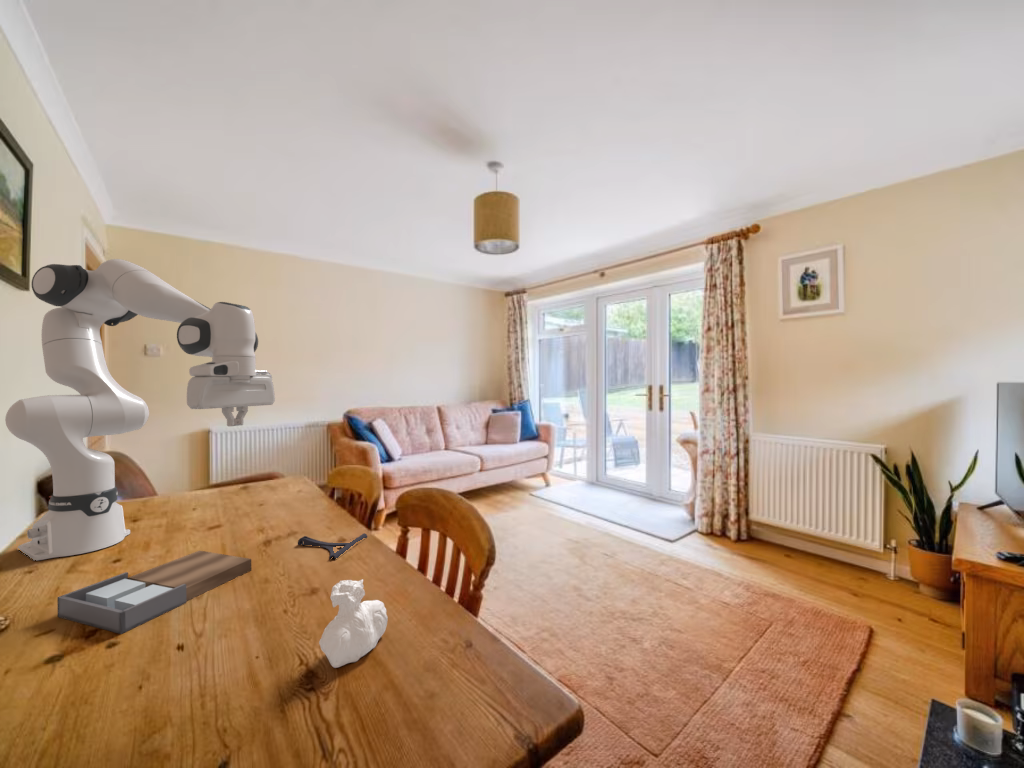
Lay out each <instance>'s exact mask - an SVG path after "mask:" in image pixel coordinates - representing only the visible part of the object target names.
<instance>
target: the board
mask: <svg viewBox="0 0 1024 768" xmlns="http://www.w3.org/2000/svg"><path fill="white" fill-rule="evenodd" d="M251 571H252V558H247V557H241V556H234V555H228V554H222V553H217V552H211V551H203V550H197V551H194V552H191V553H190V554H186V555H184V556H182V557H179V558H176V559H173V560H171V561H168V562H165V563H163V564H160V565H158V566H155V567H152V568H150V569H146V570H144V571H141V572H139V573H136V574H134V575H131V576H128V579H129V580H134V581H139V582H143V583H145V588H146V587H148V586H150V585H158V586H163V587H168V588H176V587H178V586H180V585H182V584H186V602H188V601H190V600H192V599H194V598H197V597H199V596H200V595H203V594H204V593H207V592H209V591H211V590H213V589H215V588H217V587H219V586H221V585H224V584H225V583H227V582H230V581H231V580H234V579H236V578H238V577H241V576H242V575H244V574H246V573H249V572H251Z"/></svg>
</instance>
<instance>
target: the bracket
mask: <svg viewBox="0 0 1024 768" xmlns="http://www.w3.org/2000/svg"><path fill="white" fill-rule="evenodd" d="M355 538H356V539H355V540H353V541H352V542H350V543H333V542H328V541H321V540H318V539H315V538H311V537H309V536H306V535H304V536H302V537H300V538H299V539H298V541H297V546H298V545H301V544H302V545H312V546H311V547H313V546H320V547H319V548H322V547H323V549H325V548H326V549H325V550H327V549H328V550H327V551H328V552H329V551H330V552H329V553H330V555H329V557H328V558H329V560H330V559H331V558H332V557H334V558H333V559H336V558H338V557H339V556H340V555H341V554H343V553H344V552H345V551H346V550H348V549H349V548H350V547H351V546H353V545H354V544H355V543H356V542H358V541H360V540H362V539H363V538H366V539H367V538H368V535H367V533H362V534H361V535H359V536H357V537H355ZM303 543H304V544H303ZM336 546H344V547H343V548H339V549H338V550H339V551H337V552H336V553H334V551H333V547H336ZM343 555H344V554H343ZM339 558H340V557H339ZM339 558H338V559H339ZM331 560H332V559H331ZM336 560H337V559H336Z"/></svg>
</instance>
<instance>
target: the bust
mask: <svg viewBox="0 0 1024 768" xmlns="http://www.w3.org/2000/svg"><path fill="white" fill-rule="evenodd" d="M363 583H364V579H360V580H352V579H346V580H345V579H344V580H342V579H341V580H339V582H337V583H336V584H334V585H333V586H332V588H331V594H330V597H329V599H330V600H331V603H332V608H335V607H337V606H338V612H337V615H335V616H334V618H333V619H332V620H331V621H330V622H329V623H328V624H327V625H326V627H325V628H324V630H323V633H322V634H321V638H320V639H319V641H318V644H319V646H320V649H321V651H322V652H323V653H324V654H325V656H326V658H327V660H328V662H329V664H330V666H332V667H333V668H334V669H336V668H340V667H342V666H345V665H347V664H350V663H356V662H359V660H360V659H361V658H362V657H364V656H366V655H367V654H368V653H369V652H370V651H372V650H373V649H375V648H376V646H377V645H378V641H379V640H380V639H381V638H382V636H383V635H384V634H385V632H386V629H387V625H388V619H389V618H388V615H387V608H386V607H385V603H384V602H383V601H380V600H379V599H373V600H364V601H362V599H363V598H364V596H366V591H365V589H364V586H365V585H364V584H363Z"/></svg>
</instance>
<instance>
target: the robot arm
mask: <svg viewBox="0 0 1024 768" xmlns="http://www.w3.org/2000/svg"><path fill="white" fill-rule="evenodd" d="M31 289H32V292H33V294H34V296H35V297H36V298H37V299H39V300H40V301H42V302H43V303H45V304H49V305H51V306H54V307H56V308H52V309H50V310H48V311H47V312H46V313H45V314H44V315H43V316H44V317H43V318H42V319H43V320H42V324H41V347H42V355H43V361H44V368H45V373H46V375H47V376H48V377H49V378H50V380H52V381H53V382H55V383H57V384H60V385H61V386H65V387H68V388H70V389H73V390H74V391H76V392H77V393H78V394H58V395H57V394H54V395H53V394H52V395H50V394H49V395H40V396H34V397H29V398H27V397H26V398H23V399H22V398H21V399H19V400H17V401H16V402H14V403H13V404H12V405H10V407H9V408H8V410H7V411H6V415H5V425H6V427H7V429H8V431H9V432H10V433H11V434H12V435H13V436H14V437H16V438H18V439H20V440H22V441H25V442H26V443H29V444H31V445H32V446H34V447H36V448H37V449H38V450H40V451H41V453H42V454H43V455H44V456H45V457H46V459H47V460H48V463H49V466H50V471H51V475H52V477H51V478H52V489H53V493H52V495H50V496H48V498H50V499H49V500H48V505H47V509H48V511H47V512H45V514H44V515H43V516H41V517H40V518H39V519H37V521H35V522H34V523H33V525H32V528H30V529H27V530H26V531H27V533H26V535H27V538H28V539H29V540H30V541H27V542H24V543H22V544H19V545H18V546H17V549H18V548H19V549H20V550H21V551H22V552H23V553H25V554H26V555H28V556H29V557H30V558H29V557H28V556H27V557H28V558H29V559H31V558H32V559H33V560H32V559H31V560H32V561H35V560H36V561H43V560H47V559H48V560H49V559H53V558H59V557H60V558H61V557H69V556H74V555H81V554H86V553H91V552H94V551H98V550H102V549H105V548H108V547H111V546H113V545H116V544H119V543H120V542H122V541H124V539H125V537H126V536H128V535H130V534H131V529H129V528H128V529H127V528H126V525H125V517H124V509H123V505H122V504H119V503H117V502H116V501H118V493H119V492H118V486H116V481H115V480H116V476H115V475H116V474H115V473H116V472H115V470H116V467H115V464H116V463H115V460H114V458H113V457H112V456H111V455H110V454H108V453H107V452H103V451H100V450H96V449H92V448H89V447H87V446H86V445H85V444H84V438H88V437H89V438H91V437H100V436H101V437H102V436H103V437H104V436H113V435H115V436H116V435H120V434H121V435H122V434H126V433H130V432H135V431H138V430H140V429H142V428H143V427H144V426H145V425H146V423H147V421H148V420H149V417H150V410H149V409H150V408H149V407H148V404H147V402H146V401H145V400H144V399H143V398H142V397H140V396H138V395H136V394H134V393H132V392H130V391H128V390H127V389H126V388H124V387H123V386H121V385H120V384H119V383H118V381H116V380H115V379H114V377H113V376H112V375H111V372H110V370H109V368H108V366H107V362H106V358H105V352H104V347H103V342H102V341H103V340H102V337H101V331H100V330H101V327H102V326H103V324H105V325H106V326H109V327H115V326H117V325H119V324H120V323H125V322H128V321H130V320H133V319H134V318H135V317H137V316H138V315H139V316H142V317H145V318H148V319H154V320H161V321H167V322H173V323H178V324H179V323H180V324H179V326H178V327H177V330H176V340H177V344H178V345H179V347H180V349H181V350H182V351H183V352H184V353H185V354H187V355H191V356H194V357H195V356H196V357H208V358H209V357H210V358H212V359H211V361H209V362H205V363H202V364H201V363H200V364H198V365H193V366H190V367H189V368H188V369H189V370H188V371H189V372H188V373H189V375H190V376H191V378H190V379H189V380H188V382H187V388H186V404H187V406H188V407H189V408H190V409H191V410H205V409H206V410H210V409H221V413H222V415H223V416H224V418H225V419H226V426H227V427H238V426H239V427H240V426H243V425H244V418H245V417H246V415H247V413H248V411H249V410H248V409H249V407H258V406H260V407H261V406H273V404H274V403H275V401H276V397H275V388H274V382H273V376H272V374H271V373H270V372H268V370H266V369H261V370H259V369H257V365H256V363H257V362H256V361H257V358H256V356H257V355H256V353H255V352H256V351H257V349H258V347H259V338H258V334H257V332H256V324H255V322H256V321H255V316H254V314H253V310H251V308H250V307H248V306H246V305H242V304H236V303H231V302H226V301H219V302H215V303H214V304H213V306H212V307H211V308H210V307H208V306H206V305H204V304H203V303H200V302H198V301H197V300H195V299H193V298H192V297H190V296H188V295H187V294H185V293H184V292H182V291H180V290H179V289H178V288H175V287H174V286H172V285H171V284H170V283H169V282H166V281H165V280H163V279H162V278H161V277H159V276H158V275H156V274H155V273H153V272H151V271H150V270H148V269H146V268H145V267H143V266H140V265H139V264H136V263H134V262H131V261H129V260H127V259H126V260H125V259H120V258H113V259H112V258H111V259H108V260H106V261H104V262H102V263H101V264H99V266H98V267H97V268H96V269H95V270H94V269H93V270H90V269H89V270H88V269H85V268H83V267H82V265H80V264H79V265H78V264H72V265H71V264H70V265H69V264H57V263H52V264H47V265H44V266H41V267H40V268H39V269H37V270H36V272H34V274H33V277H32V279H31ZM235 408H236V412H237V413H236V416H234V415H233V412H234V411H235ZM23 553H22V554H23ZM25 554H24V555H25ZM26 555H25V556H26Z"/></svg>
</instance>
